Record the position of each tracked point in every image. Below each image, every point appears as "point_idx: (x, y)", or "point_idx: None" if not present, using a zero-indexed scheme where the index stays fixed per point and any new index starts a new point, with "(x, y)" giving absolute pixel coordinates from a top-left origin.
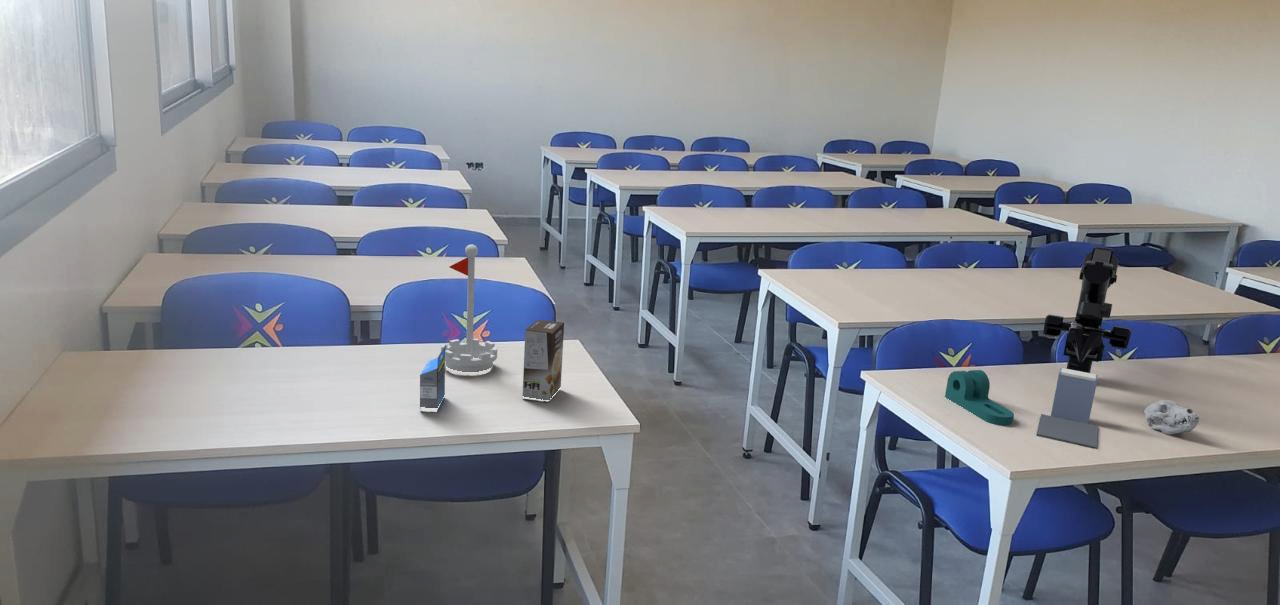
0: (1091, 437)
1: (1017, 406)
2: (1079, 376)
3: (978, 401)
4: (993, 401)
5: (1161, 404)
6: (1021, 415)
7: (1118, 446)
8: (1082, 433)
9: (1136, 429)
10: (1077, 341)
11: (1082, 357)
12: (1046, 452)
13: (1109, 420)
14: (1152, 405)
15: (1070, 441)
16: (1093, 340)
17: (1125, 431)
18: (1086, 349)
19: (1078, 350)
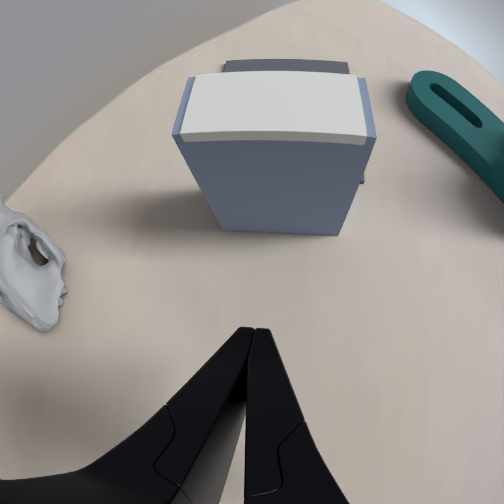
0: None
1: (432, 227)
2: (269, 73)
3: (497, 138)
4: (479, 153)
5: (12, 237)
6: (406, 159)
7: (176, 97)
8: None
9: (102, 232)
10: (311, 471)
11: (241, 338)
12: (315, 22)
13: (159, 266)
14: (29, 285)
15: (277, 59)
16: (92, 474)
17: (134, 198)
18: (198, 394)
19: (283, 382)
